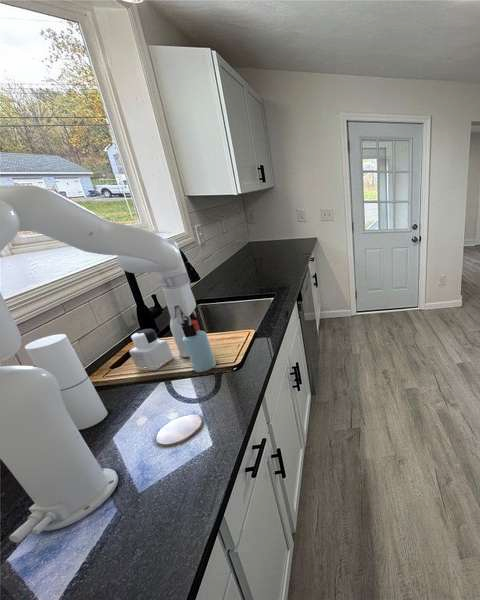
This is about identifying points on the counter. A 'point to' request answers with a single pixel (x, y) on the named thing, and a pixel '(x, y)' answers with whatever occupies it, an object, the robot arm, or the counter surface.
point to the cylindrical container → (68, 379)
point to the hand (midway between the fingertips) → (193, 332)
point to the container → (149, 350)
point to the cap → (195, 325)
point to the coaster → (179, 430)
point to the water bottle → (200, 351)
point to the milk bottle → (178, 336)
